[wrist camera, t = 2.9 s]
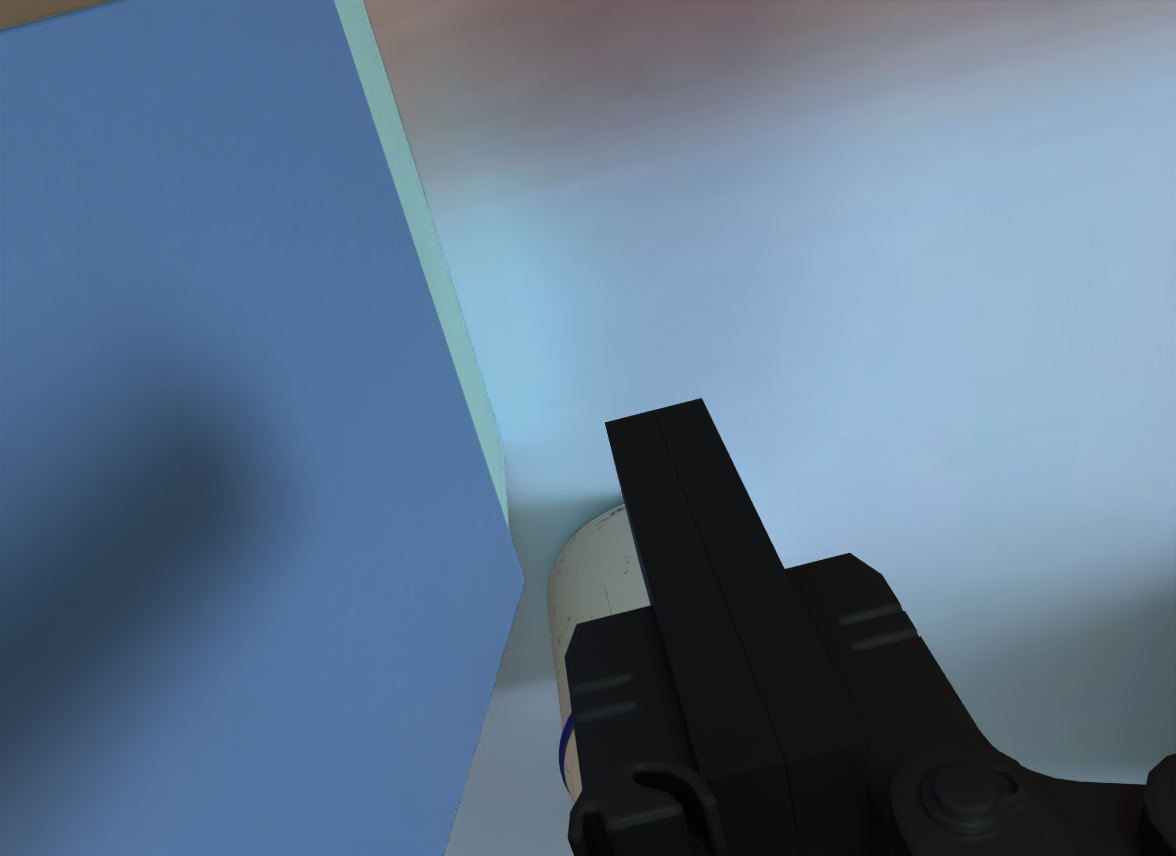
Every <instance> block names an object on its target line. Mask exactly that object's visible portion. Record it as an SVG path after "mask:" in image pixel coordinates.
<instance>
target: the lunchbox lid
mask: <svg viewBox="0 0 1176 856" xmlns="http://www.w3.org/2000/svg"><path fill="white" fill-rule="evenodd" d="M524 582H525V578H524V575H523V572H522V569H521V566H520V562H519V559H518V556H517V553H516V550H515V547H514V544H513V541H512V538H511V535H510V532H509V529H508V526H507V523H506V520H505V517H504V514H503V511H502V508H501V505H500V502H499V499H498V496H497V493H496V490H495V487H494V484H493V481H492V478H491V475H490V472H489V469H488V466H487V462H486V459H485V456H484V453H483V450H482V447H481V444H480V441H479V438H478V435H477V432H476V429H475V426H474V423H473V420H472V417H471V414H470V411H469V408H468V405H467V402H466V399H465V396H464V393H463V390H462V387H461V384H460V381H459V378H458V375H457V372H456V369H455V366H454V362H453V359H452V356H451V353H450V350H449V347H448V344H447V341H446V338H445V335H444V332H443V329H442V326H441V323H440V320H439V317H438V314H437V311H436V308H435V305H434V302H433V299H432V296H431V293H430V290H429V287H428V284H427V281H426V278H425V275H424V272H423V269H422V266H421V263H420V259H419V256H418V253H417V250H416V247H415V244H414V241H413V238H412V235H411V232H410V229H409V226H408V223H407V220H406V217H405V214H404V211H403V208H402V205H401V202H400V199H399V196H398V193H397V190H396V187H395V184H394V181H393V178H392V175H391V172H390V169H389V166H388V163H387V159H386V156H385V153H384V150H383V147H382V144H381V141H380V138H379V135H378V132H377V129H376V126H375V123H374V120H373V117H372V114H371V111H370V108H369V105H368V102H367V99H366V96H365V93H364V90H363V87H362V84H361V81H360V78H359V75H358V72H357V69H356V66H355V63H354V60H353V56H352V53H351V50H350V47H349V44H348V41H347V38H346V35H345V32H344V29H343V26H342V23H341V20H340V17H339V14H338V11H337V8H336V5H335V2H334V0H112V1H108V2H104V3H100V4H96V5H92V6H88V7H85V8H81V9H77V10H73V11H69V12H65V13H61V14H58V15H54V16H50V17H46V18H42V19H38V20H34V21H31V22H27V23H23V24H19V25H15V26H11V27H8V28H4V29H0V856H444V853H445V850H446V846H447V843H448V840H449V836H450V833H451V829H452V826H453V823H454V819H455V816H456V812H457V809H458V806H459V802H460V799H461V795H462V792H463V789H464V785H465V782H466V779H467V775H468V772H469V768H470V765H471V762H472V758H473V755H474V751H475V748H476V745H477V741H478V738H479V734H480V731H481V728H482V724H483V721H484V717H485V714H486V711H487V707H488V704H489V700H490V697H491V694H492V690H493V687H494V684H495V680H496V677H497V673H498V670H499V667H500V663H501V660H502V656H503V653H504V650H505V646H506V643H507V639H508V636H509V633H510V629H511V626H512V622H513V619H514V616H515V612H516V609H517V605H518V602H519V599H520V595H521V592H522V589H523V585H524Z"/></svg>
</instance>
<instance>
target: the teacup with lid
mask: <svg viewBox="0 0 1176 856" xmlns="http://www.w3.org/2000/svg"><path fill="white" fill-rule="evenodd" d="M547 602H548V610H549V618H550V627H551V635H552V644H553V652H554V660H555V669H556V677H557V685H558V694H559V702H560V710H561V719H562V727H563V732H562V736H561V740H560V747H559V765H560V771H561V775H562V778H563V782H564V784H565V786H566V788H567V790H568V792H569V794H570V795H571V797H572V799H573V801H574V802H576V800H577V799H578V797H579V795H580V793H581V791H582V784H581V777H580V770H579V762H578V755H577V747H576V740H575V733H574V722H573V718H572V710H571V703H570V693H569V688H568V681H567V674H566V666H565V659H564V656H565V654H566V651H567V648H568V646H569V643H570V640H571V637H572V635H573V632H574V629H575V626H576V624H578V623H582V622H586V621H590V620H594V619H598V618H602V617H606V616H610V615H614V614H618V613H622V612H626V611H630V610H634V609H638V608H642V607H646V606H650V602H649V598H648V594H647V590H646V587H645V583H644V579H643V576H642V572H641V568H640V564H639V561H638V556H637V552H636V548H635V544H634V540H633V536H632V532H631V528H630V524H629V520H628V516H627V511H626V507H625V504H623V505H620V506H617V507H615V508H612V509H610V510H608V511H606V512H604V513H602V514H600V515H599V516H597V517H596V518H594V519H592V520H591V521H590V522H588V523H587V524H585V525H584V526H583V527H582V528H581V529H580V530H578V531H577V532H576V533H575V534H574V535H573V536H572V537H571V538H570V540H569V541H568V542H567V543H566V545H565V546H564V547H563V549H562V550H561V552H560V554H559V555H558V557H557V559H556V561H555V563H554V565H553V568H552V571H551V573H550V577H549V582H548V591H547Z"/></svg>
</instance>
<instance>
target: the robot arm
mask: <svg viewBox="0 0 1176 856" xmlns="http://www.w3.org/2000/svg"><path fill="white" fill-rule="evenodd" d="M605 426H606V430H607V434H608V438H609V442H610V446H611V450H612V454H613V458H614V462H615V466H616V471H617V475H618V479H619V483H620V487H621V491H622V495H623V499H624V503H625V507H626V511H627V516H628V520H629V524H630V528H631V532H632V536H633V540H634V544H635V548H636V552H637V556H638V561H639V564H640V568H641V572H642V576H643V579H644V583H645V587H646V590H647V594H648V598H649V602H650V606H646V607H642V608H638V609H634V610H630V611H626V612H622V613H618V614H614V615H610V616H606V617H602V618H598V619H594V620H590V621H586V622H582V623H578V624H576V626H575V629H574V632H573V635H572V637H571V640H570V643H569V646H568V648H567V651H566V654H565V656H564V659H565V666H566V674H567V681H568V688H569V693H570V703H571V710H572V718H573V722H574V733H575V740H576V747H577V755H578V762H579V770H580V777H581V784H582V791H581V793H580V795H579V797H578V799H577V800H576V802H575V804H574V806H573V808H572V810H571V812H570V820H569V830H568V840H569V843H570V846H571V849H572V851H573V854H574V856H1176V754H1173V755H1169V756H1166V757H1165V758H1164V759H1163V760H1162V761H1161V762H1160V763H1159V764H1158V765H1156V766H1155V767H1154V768H1153V769H1152V770H1151V771H1150V772H1149V774H1148V778H1147V782H1146V785H1141V784H1120V783H1099V782H1079V781H1072V780H1065V779H1057V778H1053V777H1050V776H1046V775H1043V774H1040V773H1037V772H1034V771H1031V770H1029V769H1027V768H1025V767H1023V766H1021V765H1020V764H1019V763H1018V762H1017V761H1016V760H1014V759H1012V758H1011V757H1009V756H1007V755H1005V754H1003V753H1001V752H1000V751H998V750H997V749H996V748H995V747H993V746H992V745H991V744H990V742H989V741H988V740H987V739H986V738H985V736H984V735H983V734H982V733H981V731H980V730H979V729H978V727H977V726H976V724H975V722H974V721H973V719H972V718H971V716H970V714H969V713H968V711H967V710H966V708H965V706H964V705H963V703H962V702H961V700H960V698H959V697H958V695H957V694H956V692H955V690H954V689H953V687H952V686H951V684H950V682H949V681H948V679H947V678H946V676H945V674H944V673H943V671H942V670H941V668H940V666H939V665H938V663H937V662H936V660H935V658H934V657H933V655H932V654H931V652H930V650H929V649H928V647H927V646H926V644H925V642H924V641H923V639H922V638H921V636H920V637H919V636H918V634H917V630H916V628H915V626H914V625H913V623H912V622H911V620H910V618H909V617H908V615H907V614H906V612H905V611H903V610H902V607H901V604H900V602H899V601H898V599H897V598H896V596H895V594H894V593H893V591H892V590H891V588H890V586H889V585H888V583H887V582H886V580H885V579H884V577H883V575H882V574H880V573H879V572H877V571H876V570H874V569H873V568H871V567H870V566H868V565H867V564H865V563H864V562H863V561H861V560H860V559H858V558H857V557H855V556H854V555H852V554H851V553H847V554H843V555H839V556H835V557H831V558H827V559H823V560H819V561H815V562H811V563H807V564H803V565H799V566H795V567H791V568H787V569H784V567H783V565H782V563H781V561H780V559H779V557H778V555H777V552H776V550H775V548H774V546H773V544H772V542H771V540H770V538H769V536H768V534H767V532H766V530H765V528H764V526H763V524H762V522H761V519H760V517H759V515H758V513H757V511H756V509H755V507H754V505H753V503H752V501H751V499H750V497H749V495H748V493H747V491H746V488H745V486H744V484H743V482H742V480H741V478H740V476H739V474H738V472H737V470H736V468H735V466H734V464H733V462H732V460H731V458H730V455H729V453H728V451H727V449H726V447H725V445H724V443H723V441H722V439H721V437H720V435H719V433H718V431H717V429H716V427H715V424H714V422H713V420H712V418H711V416H710V414H709V412H708V410H707V408H706V406H705V404H704V402H703V400H702V398H700V399H696V400H692V401H688V402H684V403H680V404H676V405H672V406H668V407H664V408H660V409H656V410H652V411H648V412H644V413H640V414H637V415H633V416H629V417H625V418H621V419H617V420H613V421H609V422H605Z"/></svg>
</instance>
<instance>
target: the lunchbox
mask: <svg viewBox="0 0 1176 856" xmlns="http://www.w3.org/2000/svg"><path fill="white" fill-rule="evenodd" d="M109 1H112V0H109ZM105 2H108V1H105ZM334 2H335V5H336V8H337V11H338V14H339V17H340V20H341V23H342V26H343V29H344V32H345V35H346V38H347V41H348V44H349V47H350V50H351V53H352V56H353V60H354V63H355V66H356V69H357V72H358V75H359V78H360V81H361V84H362V87H363V90H364V93H365V96H366V99H367V102H368V105H369V108H370V111H371V114H372V117H373V120H374V123H375V126H376V129H377V132H378V135H379V138H380V141H381V144H382V147H383V150H384V153H385V156H386V159H387V163H388V166H389V169H390V172H391V175H392V178H393V181H394V184H395V187H396V190H397V193H398V196H399V199H400V202H401V205H402V208H403V211H404V214H405V217H406V220H407V223H408V226H409V229H410V232H411V235H412V238H413V241H414V244H415V247H416V250H417V253H418V256H419V259H420V263H421V266H422V269H423V272H424V275H425V278H426V281H427V284H428V287H429V290H430V293H431V296H432V299H433V302H434V305H435V308H436V311H437V314H438V317H439V320H440V323H441V326H442V329H443V332H444V335H445V338H446V341H447V344H448V347H449V350H450V353H451V356H452V359H453V362H454V366H455V369H456V372H457V375H458V378H459V381H460V384H461V387H462V390H463V393H464V396H465V399H466V402H467V405H468V408H469V411H470V414H471V417H472V420H473V423H474V426H475V429H476V432H477V435H478V438H479V441H480V444H481V447H482V450H483V453H484V456H485V459H486V462H487V466H488V469H489V472H490V475H491V478H492V481H493V484H494V487H495V490H496V493H497V496H498V499H499V502H500V505H501V508H502V511H503V514H504V517H505V520H506V523H507V526H508V529H509V522H508V508H507V493H506V479H505V465H504V449H503V443H502V440H501V437H500V433H499V430H498V427H497V424H496V421H495V418H494V414H493V411H492V408H491V405H490V402H489V399H488V395H487V392H486V389H485V386H484V383H483V380H482V376H481V373H480V370H479V367H478V364H477V361H476V357H475V354H474V351H473V348H472V345H471V342H470V338H469V335H468V332H467V329H466V326H465V323H464V319H463V316H462V313H461V310H460V307H459V304H458V300H457V297H456V294H455V291H454V288H453V285H452V281H451V278H450V275H449V272H448V269H447V265H446V262H445V259H444V256H443V253H442V250H441V246H440V243H439V240H438V237H437V234H436V231H435V227H434V224H433V221H432V218H431V215H430V212H429V208H428V205H427V202H426V199H425V196H424V193H423V189H422V186H421V183H420V180H419V177H418V174H417V170H416V167H415V164H414V161H413V158H412V155H411V151H410V148H409V145H408V142H407V139H406V136H405V132H404V129H403V126H402V123H401V120H400V117H399V113H398V110H397V107H396V104H395V101H394V97H393V94H392V91H391V88H390V85H389V82H388V78H387V75H386V72H385V69H384V66H383V63H382V59H381V56H380V53H379V50H378V47H377V44H376V40H375V37H374V34H373V31H372V28H371V25H370V21H369V18H368V15H367V12H366V9H365V6H364V2H363V0H334ZM101 3H104V2H101ZM98 4H100V3H98ZM94 5H96V4H94ZM90 6H92V5H90ZM86 7H88V6H86ZM82 8H85V7H82ZM78 9H81V8H78ZM74 10H77V9H74ZM70 11H73V10H70ZM67 12H69V11H67ZM63 13H65V12H63ZM59 14H61V13H59ZM55 15H58V14H55ZM51 16H54V15H51ZM47 17H50V16H47ZM43 18H46V17H43ZM39 19H42V18H39ZM35 20H38V19H35ZM32 21H34V20H32ZM28 22H31V21H28ZM24 23H27V22H24ZM20 24H23V23H20ZM16 25H19V24H16ZM12 26H15V25H12ZM8 27H11V26H8ZM8 27H4V28H8ZM4 28H0V29H4Z"/></svg>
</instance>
